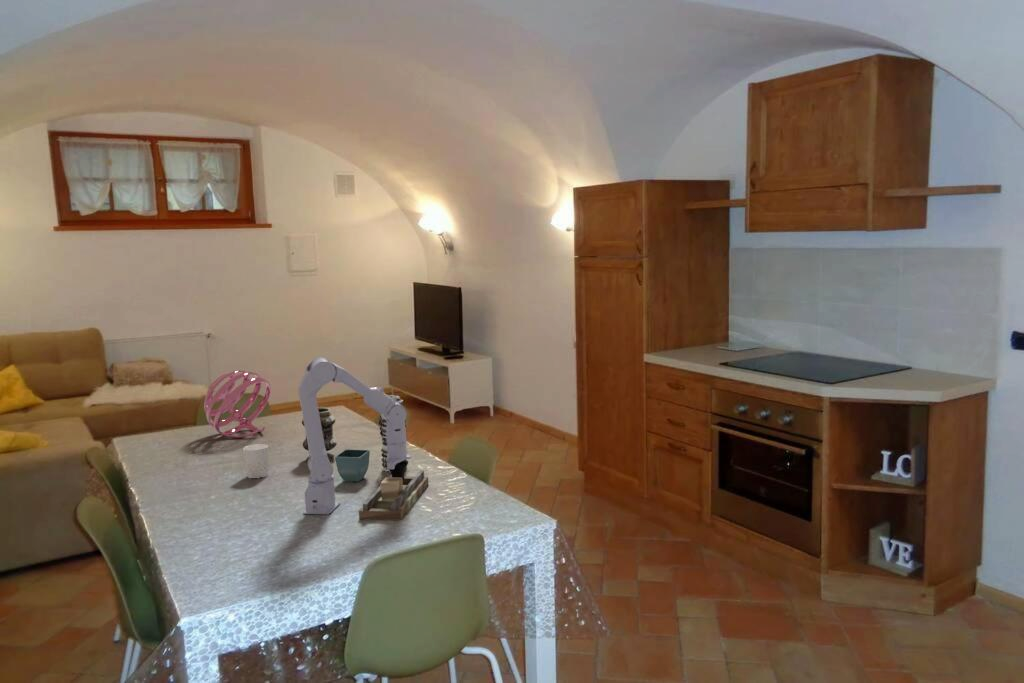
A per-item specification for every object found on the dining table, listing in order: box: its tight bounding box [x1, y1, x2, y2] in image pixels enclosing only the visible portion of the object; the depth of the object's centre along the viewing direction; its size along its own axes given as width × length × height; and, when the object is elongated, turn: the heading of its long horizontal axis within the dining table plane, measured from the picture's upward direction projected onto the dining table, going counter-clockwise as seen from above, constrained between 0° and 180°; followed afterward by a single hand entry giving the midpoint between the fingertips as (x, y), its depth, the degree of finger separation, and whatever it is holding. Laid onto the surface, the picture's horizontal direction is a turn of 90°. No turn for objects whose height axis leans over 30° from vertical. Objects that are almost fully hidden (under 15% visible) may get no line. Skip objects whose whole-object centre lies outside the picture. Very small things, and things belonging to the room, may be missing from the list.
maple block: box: [380, 476, 403, 499], centre depth 227 cm, size 5×5×5 cm
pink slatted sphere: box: [203, 369, 272, 439], centre depth 318 cm, size 28×28×27 cm
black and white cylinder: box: [378, 394, 408, 472], centre depth 263 cm, size 9×9×25 cm
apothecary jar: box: [301, 407, 338, 461], centre depth 279 cm, size 12×12×18 cm
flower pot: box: [334, 448, 371, 483], centre depth 253 cm, size 9×9×9 cm
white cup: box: [242, 443, 269, 479], centre depth 261 cm, size 8×8×10 cm
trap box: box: [358, 470, 429, 521], centre depth 231 cm, size 32×12×4 cm, turn 172°
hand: (398, 485), depth 235 cm, fingers closed
